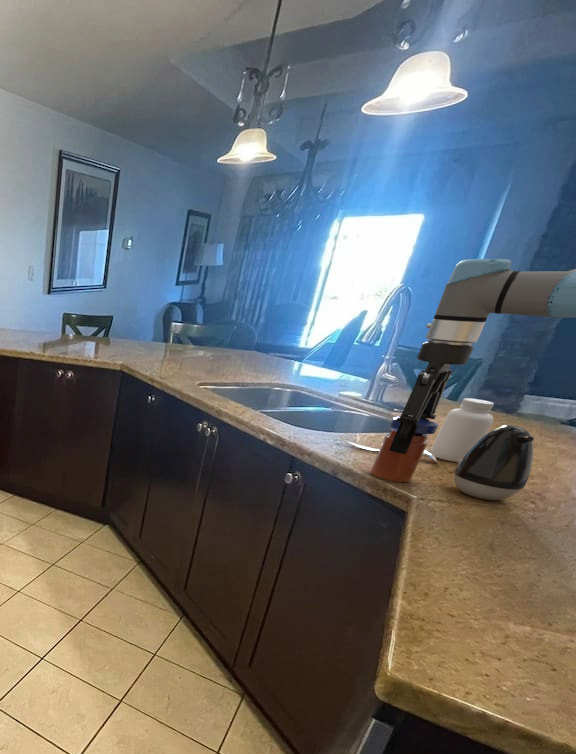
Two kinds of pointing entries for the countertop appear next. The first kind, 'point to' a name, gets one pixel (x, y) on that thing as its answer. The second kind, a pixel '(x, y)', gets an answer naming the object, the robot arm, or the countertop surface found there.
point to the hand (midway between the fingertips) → (403, 448)
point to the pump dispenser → (496, 464)
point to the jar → (398, 459)
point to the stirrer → (425, 453)
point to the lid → (422, 428)
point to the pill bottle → (463, 429)
